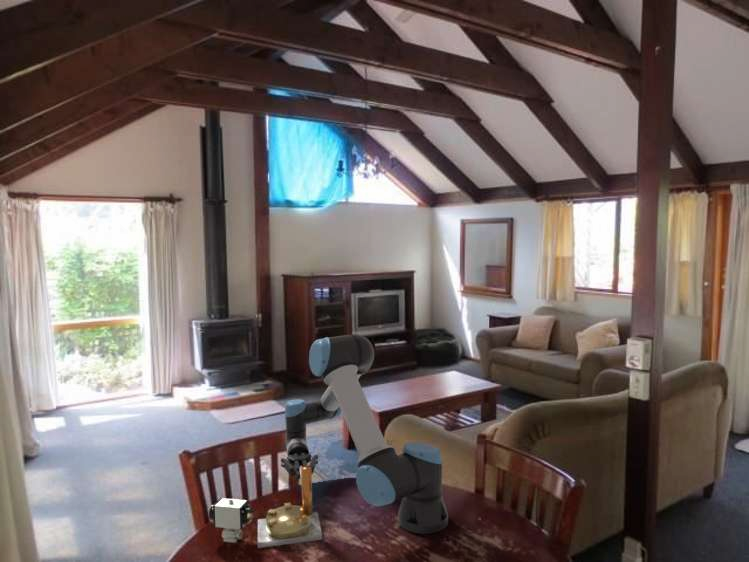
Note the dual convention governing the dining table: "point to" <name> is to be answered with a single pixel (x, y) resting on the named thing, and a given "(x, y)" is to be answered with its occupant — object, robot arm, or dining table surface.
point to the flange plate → (269, 540)
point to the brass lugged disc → (293, 512)
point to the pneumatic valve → (231, 517)
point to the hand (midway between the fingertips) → (303, 481)
